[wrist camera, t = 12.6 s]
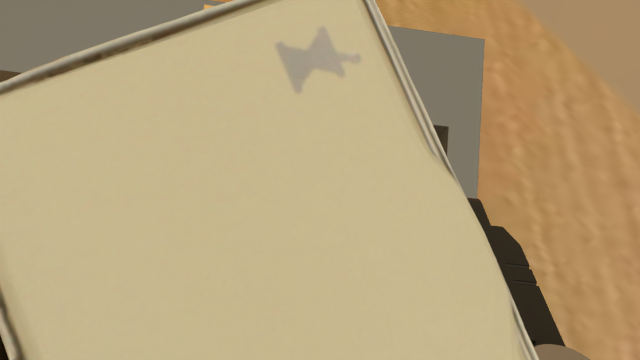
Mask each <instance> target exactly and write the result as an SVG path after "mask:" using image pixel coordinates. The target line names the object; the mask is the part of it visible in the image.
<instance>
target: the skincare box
mask: <svg viewBox="0 0 640 360" xmlns="http://www.w3.org/2000/svg"><path fill="white" fill-rule="evenodd" d="M0 335H1V338H2V341H3V344H4V346H5V349H6V352H7V355H8V358H9V360H539V357H538V355H537V353H536V351H535V348H534V346H533V344H532V342H531V340H530V338H529V336H528V334H527V332H526V330H525V327H524V325H523V322H522V319H521V317H520V315H519V312H518V310H517V307H516V305H515V302H514V300H513V298H512V295H511V293H510V291H509V288H508V286H507V284H506V281H505V279H504V277H503V274H502V272H501V270H500V267H499V265H498V263H497V260H496V258H495V256H494V253H493V251H492V249H491V246H490V244H489V242H488V240H487V237H486V235H485V233H484V231H483V229H482V227H481V225H480V223H479V221H478V219H477V217H476V215H475V213H474V211H473V209H472V207H471V205H470V203H469V202H468V199H467V197H466V195H465V193H464V191H463V189H462V187H461V185H460V183H459V181H458V179H457V177H456V175H455V173H454V171H453V169H452V167H451V165H450V163H449V161H448V159H447V156H446V154H445V152H444V150H443V147H442V145H441V143H440V140H439V138H438V136H437V134H436V131H435V129H434V127H433V124H432V122H431V120H430V118H429V115H428V113H427V111H426V109H425V106H424V104H423V102H422V100H421V98H420V96H419V94H418V92H417V90H416V88H415V86H414V83H413V81H412V79H411V77H410V75H409V73H408V70H407V68H406V66H405V64H404V61H403V59H402V57H401V54H400V52H399V50H398V48H397V45H396V43H395V41H394V39H393V37H392V35H391V33H390V31H389V29H388V27H387V24H386V22H385V20H384V18H383V16H382V14H381V12H380V10H379V7H378V5H377V3H376V1H375V0H234V1H231V2H227V3H224V4H220V5H217V6H213V7H210V8H207V9H204V10H201V11H198V12H195V13H193V14H190V15H187V16H184V17H181V18H178V19H175V20H172V21H169V22H166V23H162V24H159V25H157V26H154V27H151V28H148V29H144V30H141V31H138V32H134V33H131V34H129V35H126V36H123V37H120V38H117V39H114V40H111V41H108V42H106V43H103V44H100V45H97V46H94V47H91V48H88V49H85V50H83V51H80V52H77V53H74V54H71V55H68V56H65V57H62V58H59V59H57V60H55V61H52V62H50V63H47V64H44V65H41V66H38V67H34V68H32V69H30V70H28V71H26V72H23V73H21V74H19V75H17V76H15V77H12V78H10V79H8V80H5V81H3V82H0Z"/></svg>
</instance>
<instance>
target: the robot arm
mask: <svg viewBox="0 0 640 360" xmlns="http://www.w3.org/2000/svg"><path fill="white" fill-rule="evenodd" d="M467 199H468V202H469V203H470V205H471V207H472V209H473V211H474V213H475V215H476V217H477V219H478V221H479V223H480V225H481V227H482V229H483V231H484V233H485V235H486V237H487V240H488V242H489V244H490V246H491V249H492V251H493V253H494V256H495V258H496V260H497V263H498V265H499V267H500V270H501V272H502V274H503V277H504V279H505V281H506V284H507V286H508V288H509V291H510V293H511V295H512V298H513V300H514V302H515V305H516V307H517V310H518V312H519V315H520V317H521V319H522V322H523V325H524V327H525V330H526V332H527V334H528V336H529V338H530V340H531V342H532V344H533V346H534V348H535V351H536V353H537V355H538V357H539V360H590V359H588V358H587V357H585V356H584V355H582V354H581V353H579V352H577V351H575V350H572V349H570V348H567V347H565V344H564V342H563V340H562V338H561V335H560V333H559V331H558V329H557V326H556V324H555V322H554V320H553V317H552V315H551V313H550V311H549V308H548V306H547V304H546V302H545V299H544V297H543V295H542V293H541V290H540V288H539V286H536V283H537V281H536V279H535V277H534V275H533V272H532V270H531V269H529V264H528V261H527V259H526V257H525V255H524V252H523V250H522V248H521V246H520V244H519V243H518V242H517V241H516V240H515V239H514V238H513V237H512V236H511V235H510V234H509V233H508V232H507V231H506V230H505V229H504V228H503V227H499V226H491V225H490V223H489V220H488V218H487V215H486V213H485V210H484V208H483V205H482V203H481V201H480V200H479V199H475V198H467ZM0 360H9V358H8V355H7V352H6V349H5V346H4V344H3V341H2V338H1V335H0Z"/></svg>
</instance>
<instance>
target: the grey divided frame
mask: <svg viewBox="0 0 640 360" xmlns="http://www.w3.org/2000/svg"><path fill="white" fill-rule="evenodd" d="M220 4H224V2H217V1H210V0H0V82H3V81H5V80H8V79H10V78H12V77H15V76H17V75H19V74H21V73H23V72H26V71H28V70H30V69H32V68H34V67H38V66H41V65H44V64H47V63H50V62H52V61H55V60H57V59H59V58H62V57H65V56H68V55H71V54H74V53H77V52H80V51H83V50H85V49H88V48H91V47H94V46H97V45H100V44H103V43H106V42H108V41H111V40H114V39H117V38H120V37H123V36H126V35H129V34H131V33H134V32H138V31H141V30H144V29H148V28H151V27H154V26H157V25H159V24H162V23H166V22H169V21H172V20H175V19H178V18H181V17H184V16H187V15H190V14H193V13H195V12H198V11H201V10H204V9H207V8H210V7H213V6H217V5H220ZM387 27H388V29H389V31H390V33H391V35H392V37H393V39H394V41H395V43H396V45H397V48H398V50H399V52H400V54H401V57H402V59H403V61H404V64H405V66H406V68H407V70H408V73H409V75H410V77H411V79H412V81H413V83H414V86H415V88H416V90H417V92H418V94H419V96H420V98H421V100H422V102H423V104H424V106H425V109H426V111H427V113H428V115H429V118H430V120H431V122H432V124H433V127H434V129H435V131H436V134H437V136H438V138H439V140H440V143H441V145H442V147H443V150H444V152H445V154H446V156H447V159H448V161H449V163H450V165H451V167H452V169H453V171H454V173H455V175H456V177H457V179H458V181H459V183H460V185H461V187H462V189H463V191H464V193H465V195H466V197H467V198H475V199H477V188H478V167H479V146H480V124H481V103H482V82H483V61H484V40H485V39H479V38H471V37H464V36H457V35H450V34H443V33H436V32H429V31H422V30H415V29H408V28H401V27H394V26H387Z"/></svg>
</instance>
